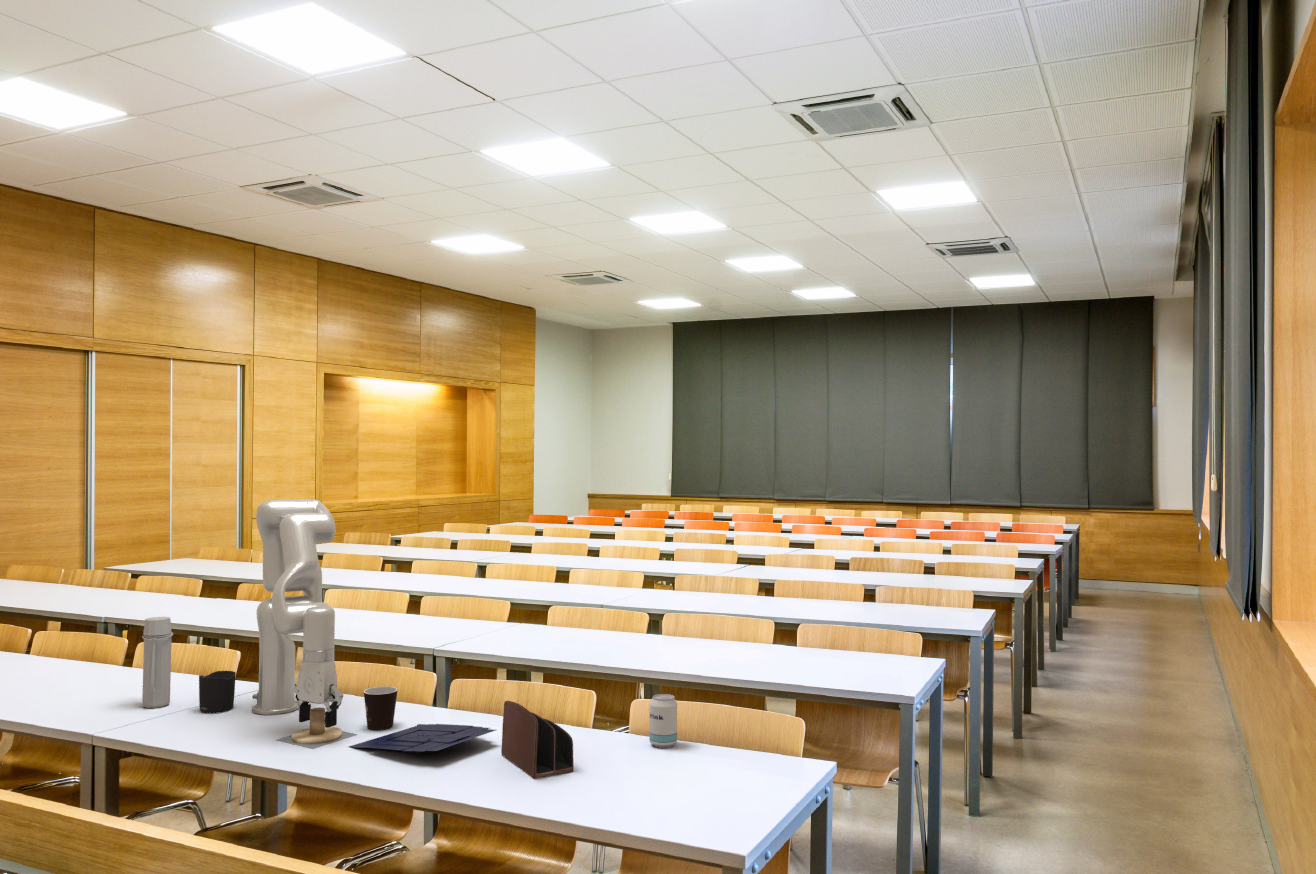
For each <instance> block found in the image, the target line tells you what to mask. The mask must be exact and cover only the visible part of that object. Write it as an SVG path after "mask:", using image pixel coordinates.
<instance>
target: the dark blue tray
mask: <svg viewBox="0 0 1316 874" xmlns="http://www.w3.org/2000/svg"><path fill="white" fill-rule="evenodd" d="M495 731H497V729H492V728H491V727H483V726H475V725H466V724H465V725H464V724H463V725H462V724H461V725H460V724H445V723H436V724H435V723H434V724H433V723H432V724H431V723H430V724H429V723H428V724H425V723H424V724H423V723H418V724H416V725H414V726H411V727H407V728H405V729H402V730H399V731H395V732H392V733H389V734H385V735H382V736H379V737H375V738H372V739H368V740H366V741H362V742H359V743H355V744H352V745H349V746H348V748H359V749H360V748H361V749H362V748H367V749H378V750H379V749H383V750H394V751H395V750H396V751H401V752H425V751H428V752H437V751H440V750H443V749H446V748H449V747H451V746H455V745H457V744H460V743H462V742H466V741H469V740H471V739H475V738H477V737H481V736H483V735H487V734H490V733H493V732H495Z"/></svg>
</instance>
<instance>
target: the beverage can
mask: <svg viewBox="0 0 1316 874" xmlns="http://www.w3.org/2000/svg"><path fill="white" fill-rule="evenodd" d="M675 697H676V696H675V695H673V694H668V693H658V694H654V695H652V698H651V700H650V702H649V739H648V741H649V742H650V744H652V745H653V746H654V747H655V748H660V749H668V748H672V747H673V746H674V745H675V744H676V743H678V702H677V700H676V699H675Z"/></svg>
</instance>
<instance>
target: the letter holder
mask: <svg viewBox="0 0 1316 874" xmlns="http://www.w3.org/2000/svg"><path fill="white" fill-rule="evenodd" d="M502 716H503V717H502V729H501V734H502V735H501V751H500V753H501V756H502V757H504V758H506V759H507V760H508V761H510V762H511V763H512V764H513V765H515V766H516V767H517V768H519V769H520V770H522V771H523V772H525V774H527V775H528V776H529V777H530V778H532V779H533V780H537V779H541V778H547V777H548V778H549V777H552V776H557V775H563V774H569V773H573V772H574V769H575V767H574V741H573V738H572V736H571V734H570V733H568V731H566V730H565V729H564V728H562V727H561V726H560V725H558V724H556V723H554V721H552V720H550V719H546V718H543V717H541V716H540V715H538V714H536V713H534V712H533V711H529V710H528V709H527V708H526V707H525V706H523V705H521V704H520V703H518V702H515V701H512V700H505V701H504V702H503V715H502Z"/></svg>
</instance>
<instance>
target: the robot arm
mask: <svg viewBox="0 0 1316 874" xmlns="http://www.w3.org/2000/svg"><path fill="white" fill-rule="evenodd" d="M255 516H256V517H255V518H256V519H255V520H256V527H257V529H258V532H259V536H260V538H261V539H260V540H261V544H262V584H263V588H264V589H265V590H266V592H269V593H272V594H271V595H272V596H271V597H270V598H267V599H264V600H263V601H261V602H260V603H259V604H258V606H257V609H256V620H257V628H258V640H259V643H258V645H259V646H258V647H259V648H258V649H259V651H258V652H259V654H258V655H259V659H258V663H259V664H258V691H257V692H256V693H253V695H252V698H253V700H254V699H255V700H256V704H254V705H253V706H251V707H252V709H251V710H252V713H254V714H257V715H280V714H286V713H290V712H291V713H292V712H294V711H296V710H298V723H305V722H308V721H309V722H310V709H312V705H311V703H312V704H315V705H317V704H318V705H321V704H323V705H324V708H325V727H326V728H328V727H336V726H337V724H338V723H337V721H338V714H337V713H338V710H339V708H340V706H341V704H342V702H343V698H344V693H343V692H341V690H339V688H338V676H337V668H336V662H335V634H336V633H335V632H336V630H335V625H336V624H335V623H336V612H335V609H334V607H331V606H329V604H328V603H326V602H323V572H322V571H323V570H322V568H321V564H320V562H319V555H318V551H317V544H319V543H320V544H321V543H322V544H323V543H330V542H332V541H333V540H335V536H336V533H337V531H336V530H337V529H336V528H337V527H336V522H335V520H334V516H333V514H332V513H331V511H330V510H329V509H328V508H327V507H326V505H325V504H324V503H323V502H322V501H320V500H318V499H313V498H304V499H298V498H297V499H293V498H292V499H289V498H287V499H285V498H284V499H271V500H266V501H262V502H261V503H260V504H259V505H258V507H257V510H256V514H255ZM291 592H302V593H303V595H294V596H293V595H292V596H289V595H287V596H286V593H291ZM291 634H293V635H294V634H302V635H303V639H302V660H301V661H300V665H299V670H298V677H297V685H295V684H296V645H295V642H294V640H293V639H292V638H291V637H290V636H289V635H291Z"/></svg>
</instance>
